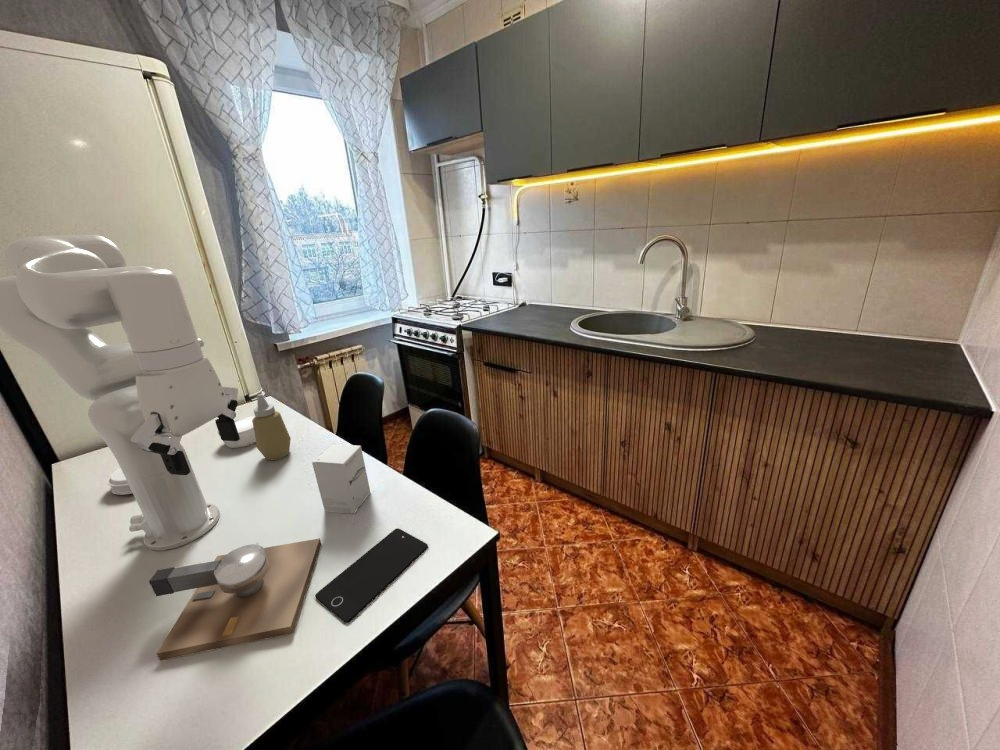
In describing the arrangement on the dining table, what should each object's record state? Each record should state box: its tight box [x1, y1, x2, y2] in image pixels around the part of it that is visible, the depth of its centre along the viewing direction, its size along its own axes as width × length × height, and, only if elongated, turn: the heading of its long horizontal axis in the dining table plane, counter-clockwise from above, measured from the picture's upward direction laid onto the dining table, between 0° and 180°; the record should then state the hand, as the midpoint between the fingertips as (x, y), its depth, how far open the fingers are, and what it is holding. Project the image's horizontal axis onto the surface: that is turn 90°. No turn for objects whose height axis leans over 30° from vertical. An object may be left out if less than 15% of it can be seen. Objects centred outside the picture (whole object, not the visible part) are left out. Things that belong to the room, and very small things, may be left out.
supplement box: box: [311, 443, 371, 515], centre depth 85 cm, size 7×7×13 cm
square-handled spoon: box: [148, 543, 269, 597], centre depth 63 cm, size 16×7×3 cm, turn 101°
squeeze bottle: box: [252, 393, 292, 461], centre depth 104 cm, size 8×8×18 cm
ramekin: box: [217, 416, 256, 449], centre depth 115 cm, size 11×11×5 cm
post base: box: [156, 537, 322, 661], centre depth 65 cm, size 18×18×4 cm
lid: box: [106, 467, 133, 496], centre depth 98 cm, size 13×13×5 cm
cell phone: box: [314, 527, 429, 624], centre depth 69 cm, size 9×18×1 cm, turn 146°
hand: (207, 455), depth 64 cm, fingers open, 9 cm apart
